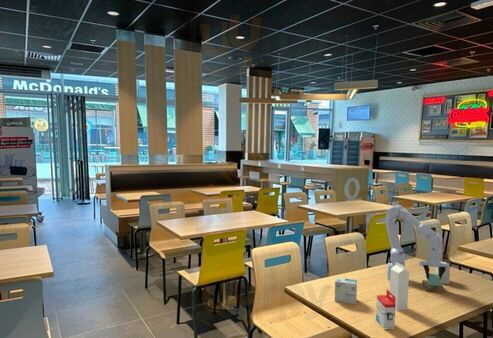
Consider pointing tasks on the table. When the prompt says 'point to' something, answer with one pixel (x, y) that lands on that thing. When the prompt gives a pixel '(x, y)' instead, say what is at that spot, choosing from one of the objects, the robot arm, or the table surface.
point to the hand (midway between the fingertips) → (433, 279)
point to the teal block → (433, 279)
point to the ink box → (386, 310)
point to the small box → (444, 274)
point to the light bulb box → (345, 290)
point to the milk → (399, 286)
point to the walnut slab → (432, 287)
